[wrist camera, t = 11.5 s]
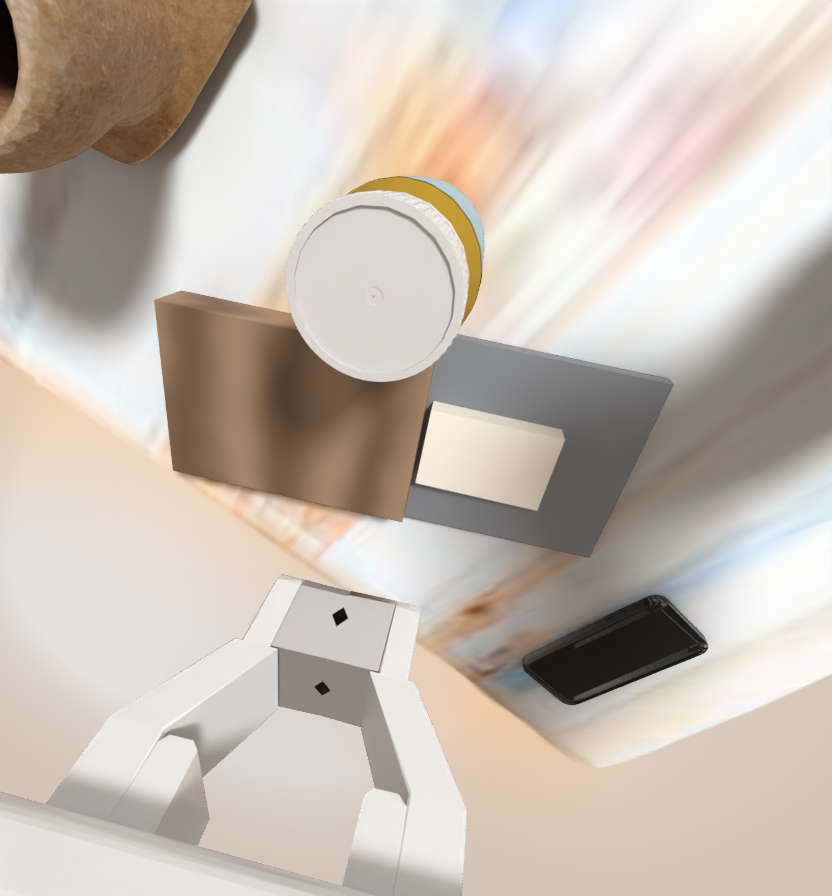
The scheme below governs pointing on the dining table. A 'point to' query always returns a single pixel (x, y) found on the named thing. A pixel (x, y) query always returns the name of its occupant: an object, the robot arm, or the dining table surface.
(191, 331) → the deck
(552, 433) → the tile
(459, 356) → the mat
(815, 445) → the dining table surface
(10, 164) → the stone cup
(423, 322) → the bottle
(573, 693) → the phone
